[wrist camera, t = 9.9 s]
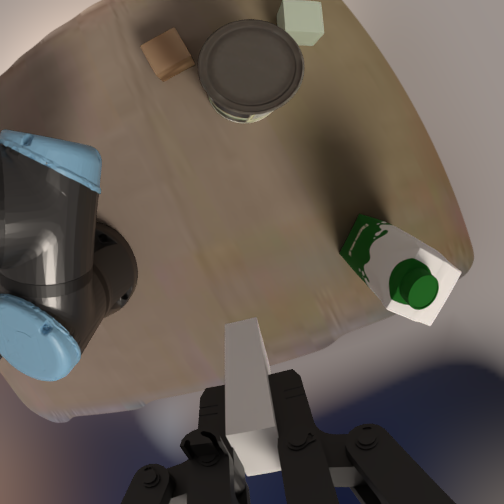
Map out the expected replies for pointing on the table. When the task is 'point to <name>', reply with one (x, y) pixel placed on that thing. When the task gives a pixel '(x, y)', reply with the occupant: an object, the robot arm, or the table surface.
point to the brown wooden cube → (167, 54)
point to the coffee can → (250, 69)
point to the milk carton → (400, 269)
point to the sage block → (301, 20)
